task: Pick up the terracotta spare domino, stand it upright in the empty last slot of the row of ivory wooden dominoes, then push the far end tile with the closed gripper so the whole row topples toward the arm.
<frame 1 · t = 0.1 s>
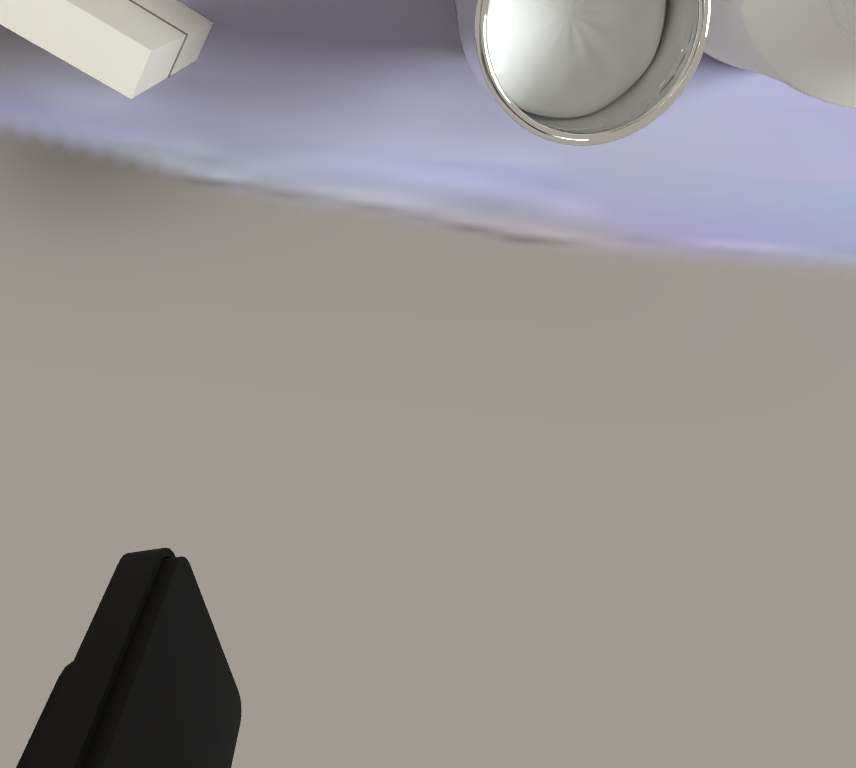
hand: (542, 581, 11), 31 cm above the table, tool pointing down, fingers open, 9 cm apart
domino 1: (141, 2, 36), on the table
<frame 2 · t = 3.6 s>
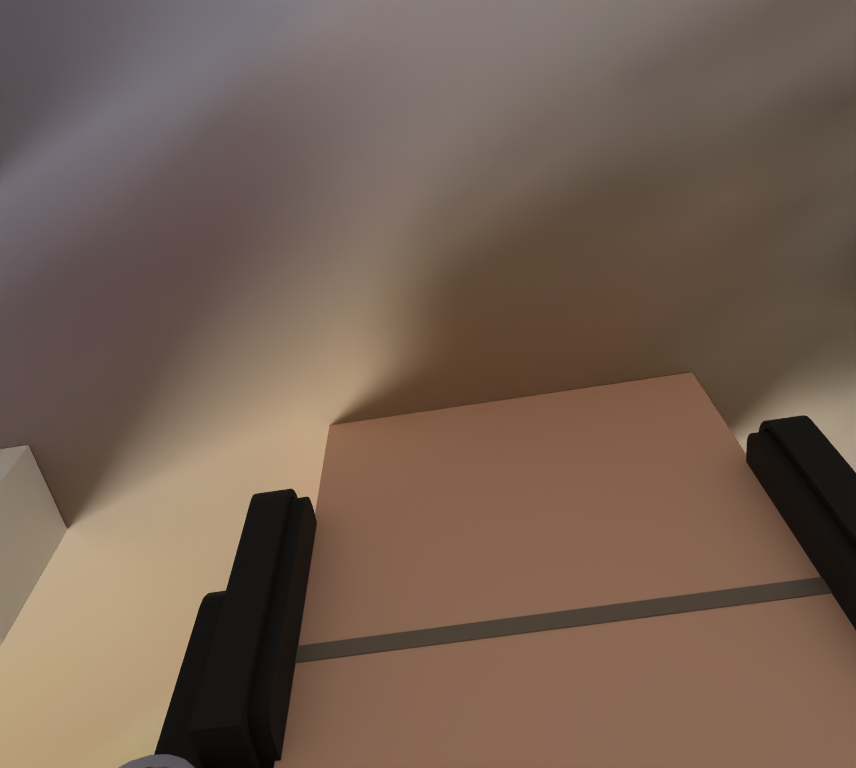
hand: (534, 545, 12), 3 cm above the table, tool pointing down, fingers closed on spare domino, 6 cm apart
spare domino: (514, 444, 14), on the table, touching gripper
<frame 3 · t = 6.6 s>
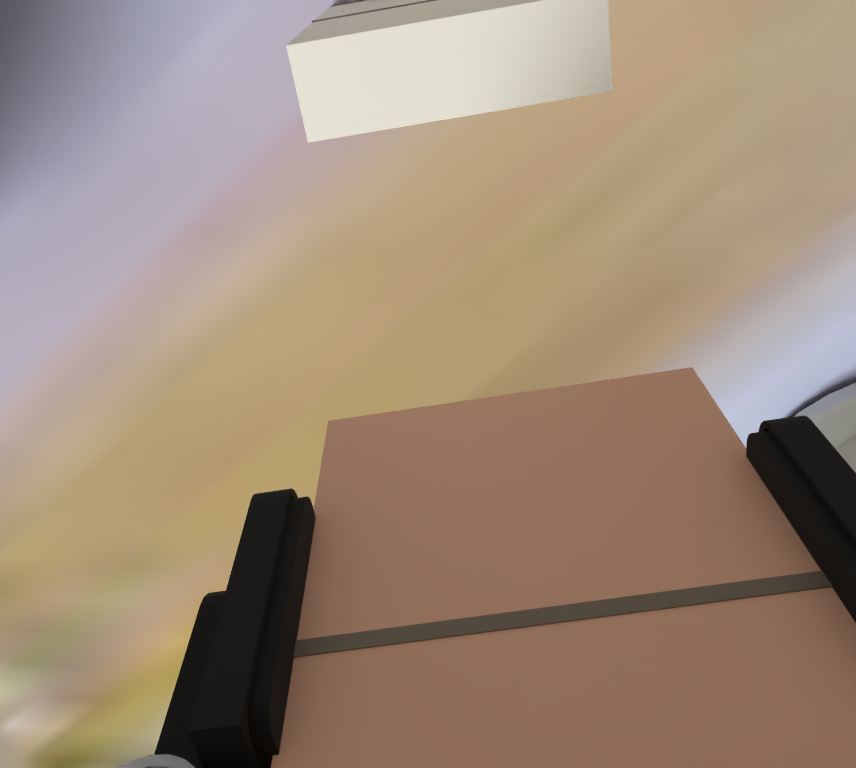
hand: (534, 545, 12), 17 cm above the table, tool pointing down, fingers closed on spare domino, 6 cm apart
spare domino: (513, 440, 14), point 15 cm above the table, touching gripper
domino 4: (436, 21, 24), on the table
when the fingers open (4 cm above the table, at t = 9.6 s): spare domino stays where it is, on the table.
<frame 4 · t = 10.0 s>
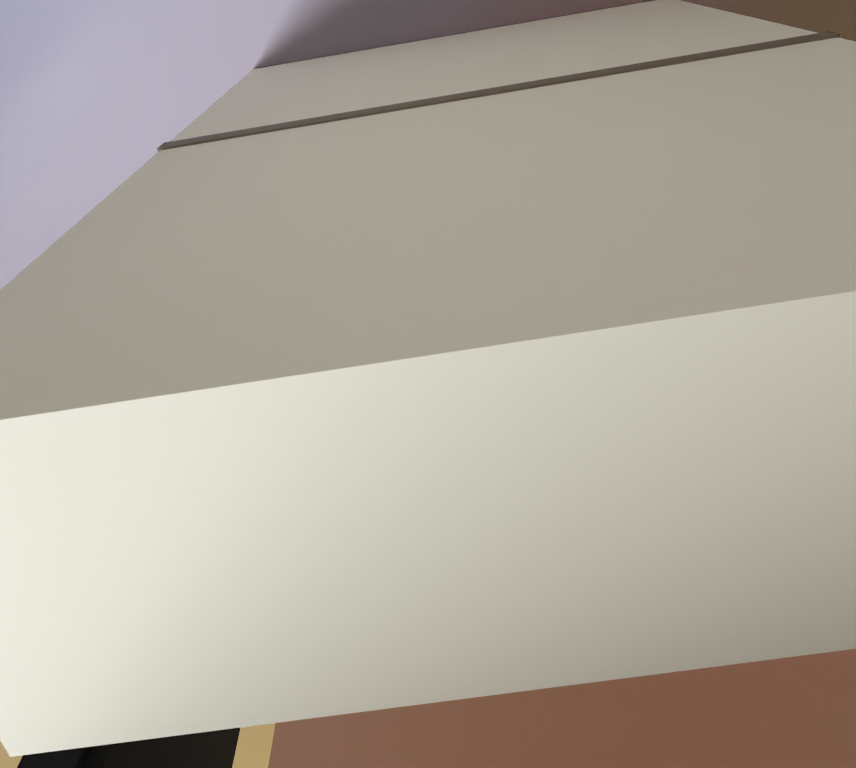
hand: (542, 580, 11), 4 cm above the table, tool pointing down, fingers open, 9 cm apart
spare domino: (505, 412, 15), on the table
domino 4: (466, 99, 12), on the table
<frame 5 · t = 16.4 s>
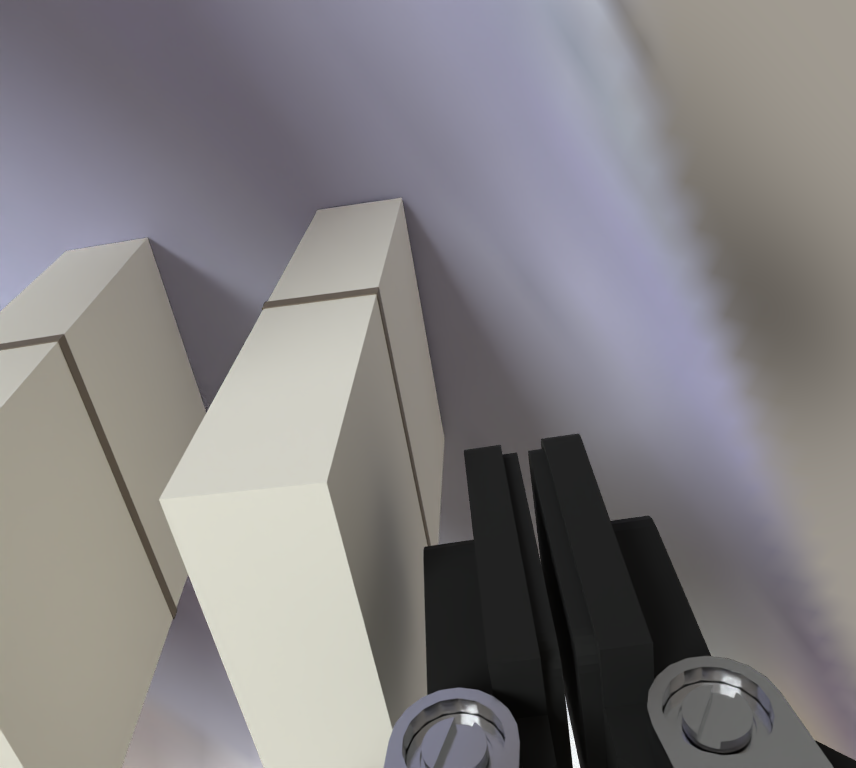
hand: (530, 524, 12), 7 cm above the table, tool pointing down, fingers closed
domino 1: (385, 332, 19), on the table
domino 2: (151, 367, 19), on the table
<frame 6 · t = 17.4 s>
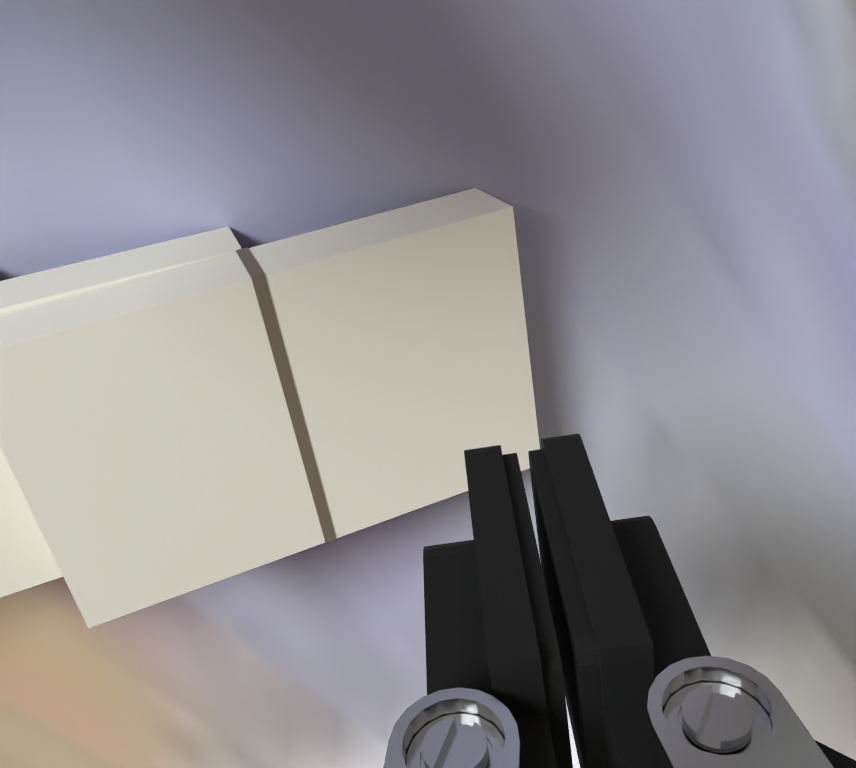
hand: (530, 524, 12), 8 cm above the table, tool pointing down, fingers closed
domino 1: (509, 331, 18), point 1 cm above the table, tilted 71°, touching domino 2
domino 2: (268, 366, 18), point 1 cm above the table, tilted 71°, touching domino 1, domino 3
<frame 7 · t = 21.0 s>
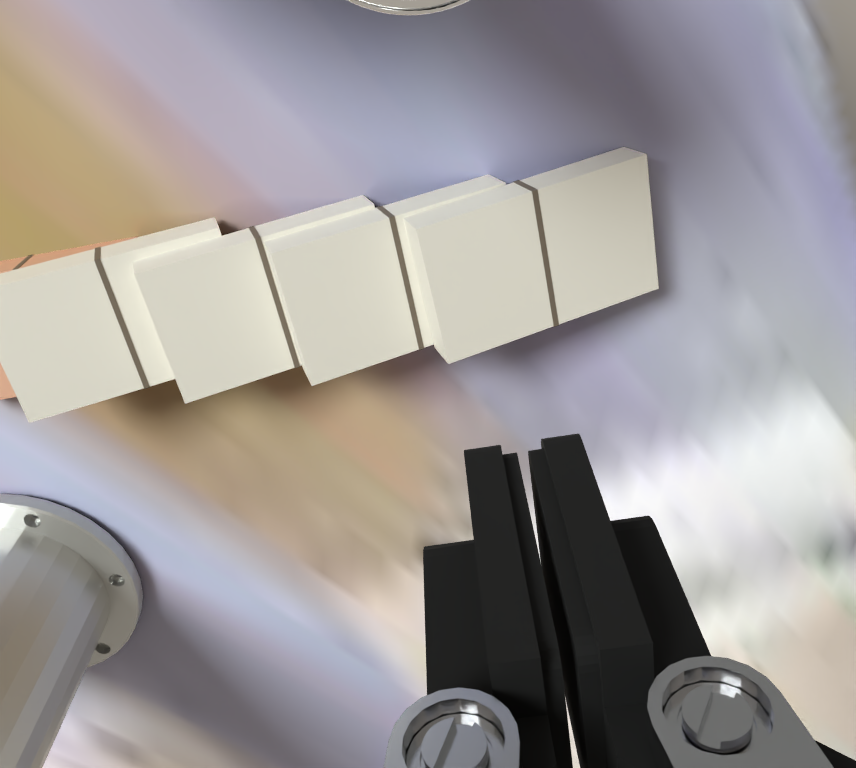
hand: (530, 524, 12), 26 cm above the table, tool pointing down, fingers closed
domino 3: (383, 264, 36), point 1 cm above the table, tilted 71°, touching domino 4
domino 1: (641, 219, 35), point 1 cm above the table, tilted 72°, touching domino 2
spare domino: (155, 304, 37), point 1 cm above the table, tilted 90°, touching domino 4
domino 4: (236, 286, 36), point 1 cm above the table, tilted 71°, touching domino 3, spare domino
domino 2: (507, 245, 36), point 1 cm above the table, tilted 71°, touching domino 1
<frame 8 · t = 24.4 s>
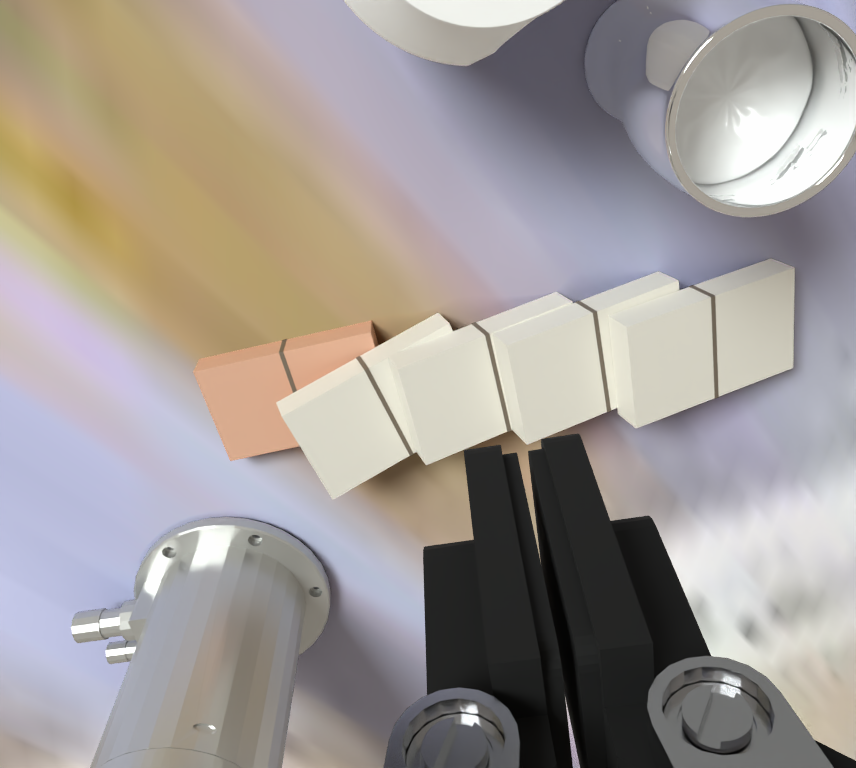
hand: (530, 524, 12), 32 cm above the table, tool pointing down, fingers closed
domino 3: (572, 345, 45), point 1 cm above the table, tilted 71°, touching domino 2, domino 4
domino 1: (782, 313, 45), point 1 cm above the table, tilted 72°, touching domino 2
beer glass: (646, 56, 39), on the table
spare domino: (384, 372, 46), point 1 cm above the table, tilted 90°, touching domino 4
domino 4: (463, 362, 46), point 1 cm above the table, tilted 72°, touching domino 3, spare domino
domino 2: (673, 326, 45), point 1 cm above the table, tilted 71°, touching domino 1, domino 3
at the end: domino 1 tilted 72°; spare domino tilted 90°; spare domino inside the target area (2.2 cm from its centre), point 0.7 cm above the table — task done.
